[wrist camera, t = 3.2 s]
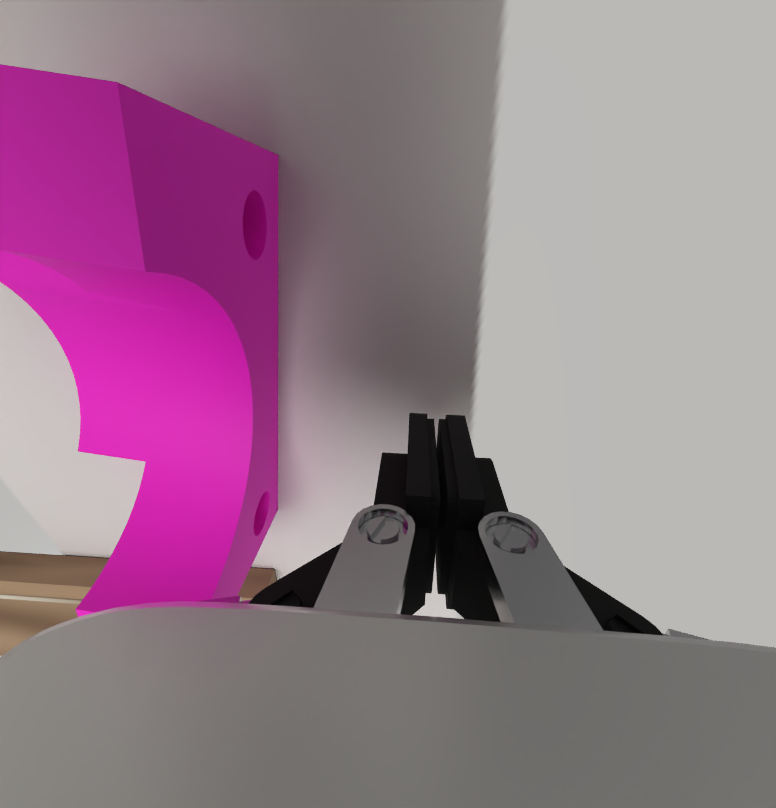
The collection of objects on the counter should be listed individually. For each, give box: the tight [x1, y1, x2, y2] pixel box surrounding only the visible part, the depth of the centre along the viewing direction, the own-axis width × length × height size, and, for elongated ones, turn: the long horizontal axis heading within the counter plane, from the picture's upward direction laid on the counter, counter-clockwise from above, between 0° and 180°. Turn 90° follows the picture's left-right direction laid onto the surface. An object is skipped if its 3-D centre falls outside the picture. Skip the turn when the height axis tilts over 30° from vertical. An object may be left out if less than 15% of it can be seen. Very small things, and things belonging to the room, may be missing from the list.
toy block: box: [0, 65, 278, 617], centre depth 12 cm, size 15×6×8 cm, turn 172°
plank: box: [0, 551, 277, 656], centre depth 22 cm, size 7×18×2 cm, turn 89°
